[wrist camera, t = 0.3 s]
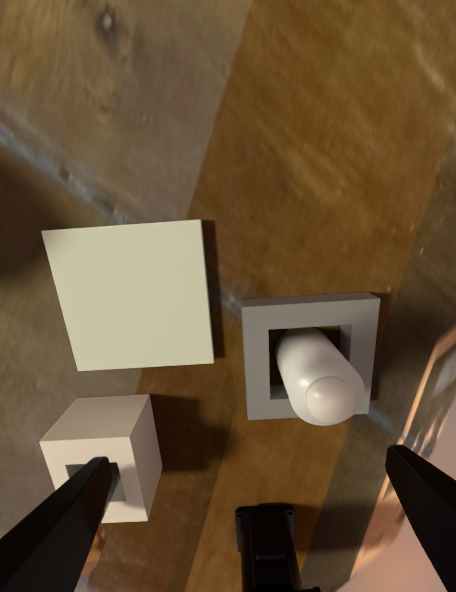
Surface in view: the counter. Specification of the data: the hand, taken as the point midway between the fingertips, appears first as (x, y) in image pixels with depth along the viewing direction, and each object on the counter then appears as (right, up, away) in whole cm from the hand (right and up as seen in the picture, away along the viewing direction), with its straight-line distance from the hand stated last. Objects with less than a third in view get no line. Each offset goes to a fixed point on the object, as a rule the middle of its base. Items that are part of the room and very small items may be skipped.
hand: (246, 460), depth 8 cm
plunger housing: (-11, -9, +17) cm, 22 cm away
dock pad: (-8, +5, +13) cm, 16 cm away
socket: (+6, 0, +15) cm, 16 cm away
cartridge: (+6, 0, +15) cm, 16 cm away
